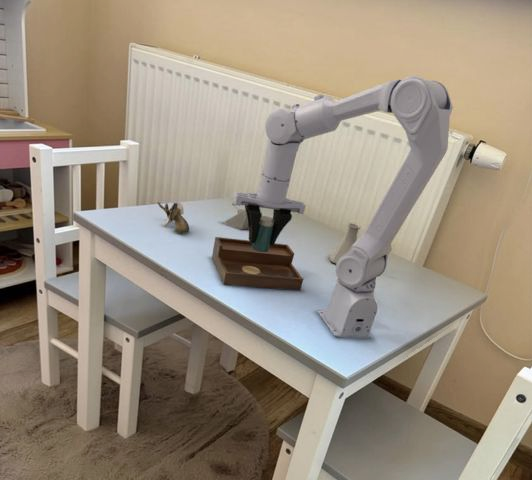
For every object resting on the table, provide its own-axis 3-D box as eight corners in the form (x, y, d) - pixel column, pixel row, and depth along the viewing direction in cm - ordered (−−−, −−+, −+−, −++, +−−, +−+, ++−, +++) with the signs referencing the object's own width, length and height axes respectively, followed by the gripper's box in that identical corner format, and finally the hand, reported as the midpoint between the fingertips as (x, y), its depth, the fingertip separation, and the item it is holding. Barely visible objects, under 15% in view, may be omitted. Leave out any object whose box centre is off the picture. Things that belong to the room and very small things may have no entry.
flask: (355, 271, 128) (368, 233, 123) (327, 263, 129) (339, 225, 124) (356, 261, 134) (368, 225, 129) (330, 254, 135) (341, 217, 130)
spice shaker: (270, 253, 107) (277, 223, 103) (253, 251, 105) (259, 220, 102) (265, 245, 110) (272, 216, 106) (248, 244, 108) (255, 214, 105)
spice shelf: (300, 290, 111) (306, 268, 108) (223, 284, 105) (227, 261, 102) (282, 265, 121) (287, 244, 118) (211, 258, 115) (215, 236, 112)
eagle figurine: (148, 215, 126) (162, 222, 119) (164, 191, 126) (179, 196, 119) (171, 232, 131) (186, 240, 124) (187, 209, 131) (202, 215, 124)
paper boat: (236, 229, 132) (213, 207, 135) (237, 243, 138) (215, 223, 141) (271, 204, 135) (248, 183, 138) (270, 219, 141) (248, 200, 144)
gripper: (303, 176, 105) (287, 238, 112) (235, 165, 100) (223, 231, 107) (315, 186, 100) (297, 251, 107) (244, 175, 95) (230, 244, 102)
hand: (261, 242), depth 107 cm, fingers closed on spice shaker, 4 cm apart
